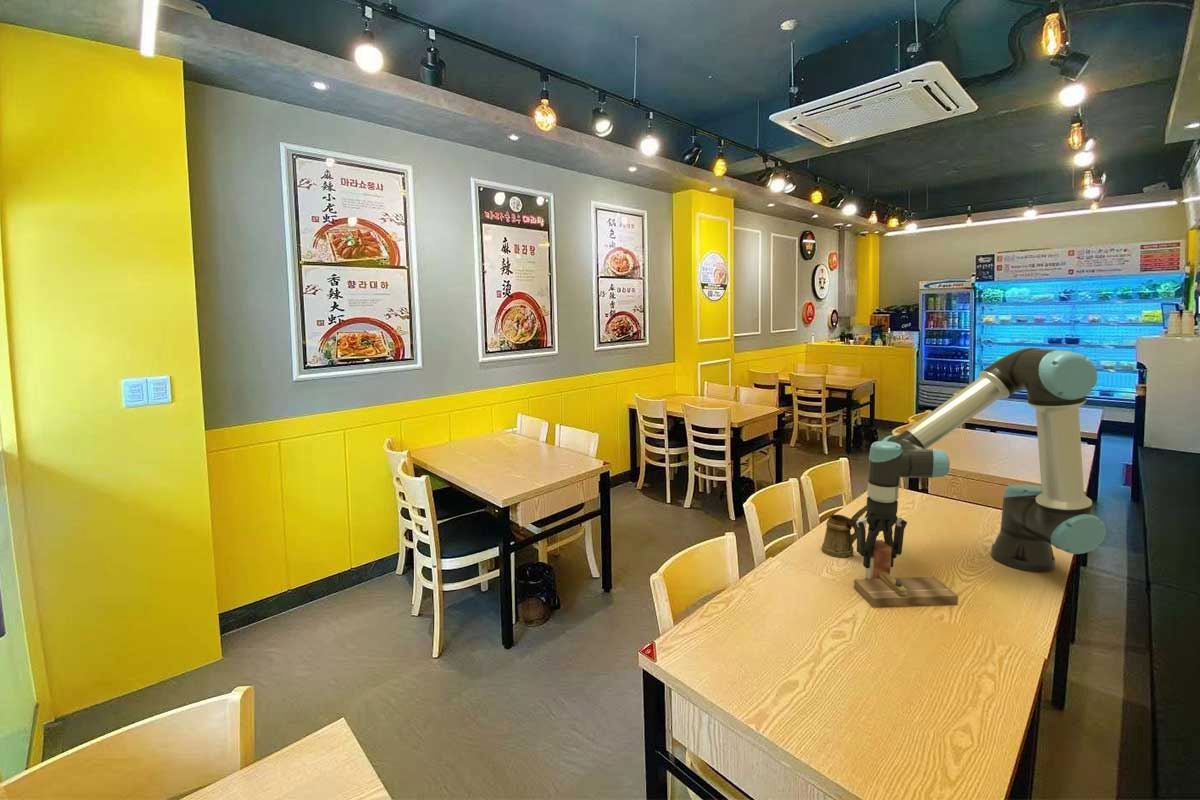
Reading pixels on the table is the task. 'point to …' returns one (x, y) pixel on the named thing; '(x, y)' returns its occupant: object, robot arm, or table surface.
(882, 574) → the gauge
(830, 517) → the wooden mug
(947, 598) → the board
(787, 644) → the table surface
